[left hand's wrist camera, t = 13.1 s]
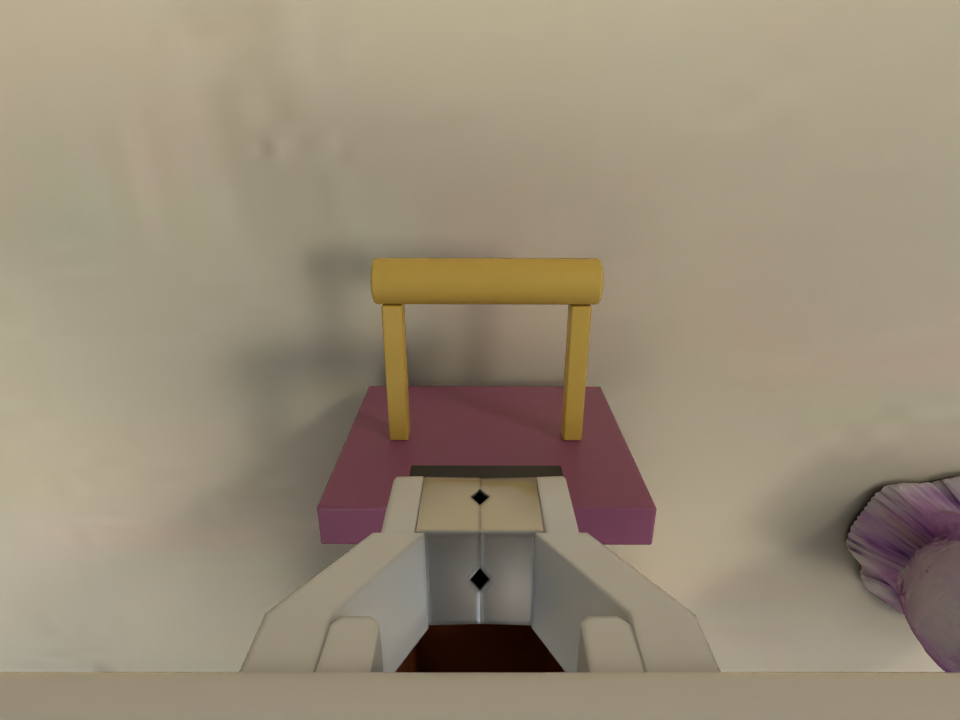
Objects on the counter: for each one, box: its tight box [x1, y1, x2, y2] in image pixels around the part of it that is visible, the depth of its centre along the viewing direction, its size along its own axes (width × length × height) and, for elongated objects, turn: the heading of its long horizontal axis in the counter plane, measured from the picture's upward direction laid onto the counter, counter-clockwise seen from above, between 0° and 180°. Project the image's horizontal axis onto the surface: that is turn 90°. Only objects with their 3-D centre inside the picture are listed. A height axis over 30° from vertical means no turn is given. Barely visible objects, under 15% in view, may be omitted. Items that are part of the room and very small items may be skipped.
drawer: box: [317, 258, 656, 672], centre depth 21 cm, size 21×9×8 cm, turn 0°
